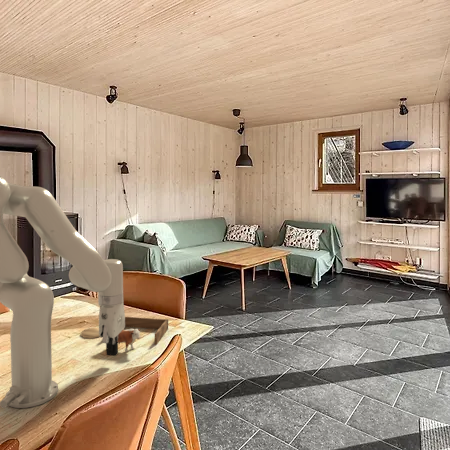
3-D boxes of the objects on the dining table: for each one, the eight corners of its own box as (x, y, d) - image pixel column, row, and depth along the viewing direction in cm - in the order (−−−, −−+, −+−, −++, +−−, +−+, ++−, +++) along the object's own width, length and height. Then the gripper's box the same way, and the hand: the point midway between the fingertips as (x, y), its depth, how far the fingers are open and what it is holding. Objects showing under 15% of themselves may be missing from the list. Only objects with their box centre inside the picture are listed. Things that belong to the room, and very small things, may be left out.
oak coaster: (99, 339, 135) (99, 336, 135) (76, 337, 136) (76, 335, 136) (109, 330, 144) (109, 328, 144) (88, 328, 145) (88, 326, 145)
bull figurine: (139, 355, 123) (139, 331, 122) (103, 350, 126) (102, 327, 125) (144, 349, 127) (144, 327, 127) (109, 345, 130) (109, 323, 129)
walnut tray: (156, 344, 132) (156, 334, 131) (104, 340, 134) (104, 330, 133) (168, 329, 147) (168, 319, 147) (121, 325, 149) (121, 316, 149)
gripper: (112, 307, 106) (113, 366, 108) (131, 292, 121) (132, 345, 123) (88, 305, 107) (89, 365, 109) (109, 291, 122) (110, 343, 124)
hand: (112, 354), depth 116 cm, fingers closed
